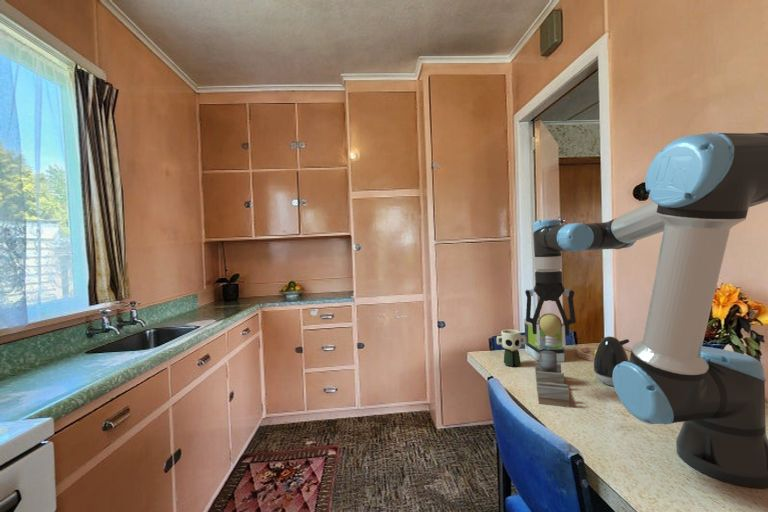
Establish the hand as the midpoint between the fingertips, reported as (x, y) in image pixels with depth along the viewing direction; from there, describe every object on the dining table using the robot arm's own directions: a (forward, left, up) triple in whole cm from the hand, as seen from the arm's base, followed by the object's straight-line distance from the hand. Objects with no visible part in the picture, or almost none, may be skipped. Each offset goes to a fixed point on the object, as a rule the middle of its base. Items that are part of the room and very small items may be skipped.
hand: (550, 345), depth 107 cm
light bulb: (0, 0, 0) cm, 0 cm away
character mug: (+25, +12, -15) cm, 32 cm away
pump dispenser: (+14, -19, -15) cm, 28 cm away
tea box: (+38, 0, -16) cm, 41 cm away
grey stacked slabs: (+4, 0, -15) cm, 16 cm away
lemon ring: (+43, -20, -15) cm, 49 cm away
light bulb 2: (+40, -20, -16) cm, 47 cm away
